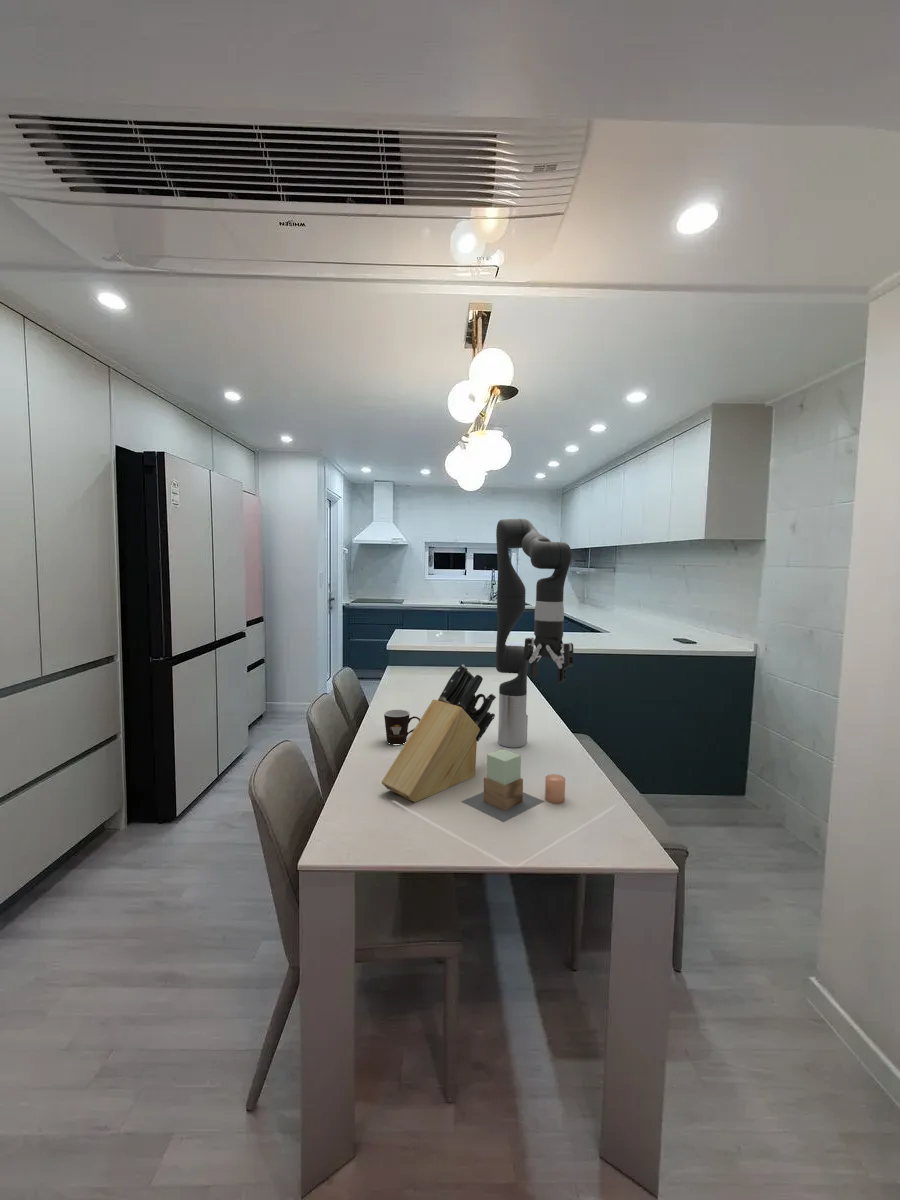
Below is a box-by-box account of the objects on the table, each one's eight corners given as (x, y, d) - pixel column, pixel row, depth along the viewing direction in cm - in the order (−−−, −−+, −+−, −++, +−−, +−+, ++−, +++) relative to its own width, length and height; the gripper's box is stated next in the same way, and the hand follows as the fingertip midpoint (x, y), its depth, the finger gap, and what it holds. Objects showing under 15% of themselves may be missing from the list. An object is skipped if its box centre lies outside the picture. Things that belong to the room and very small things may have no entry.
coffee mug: (379, 744, 172) (379, 714, 172) (391, 736, 180) (391, 708, 180) (410, 749, 168) (410, 719, 167) (421, 741, 176) (422, 712, 175)
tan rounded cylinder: (552, 794, 136) (553, 772, 136) (568, 801, 133) (569, 778, 132) (540, 800, 133) (541, 777, 133) (557, 807, 129) (557, 784, 129)
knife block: (497, 768, 153) (499, 665, 151) (409, 808, 128) (410, 684, 126) (468, 758, 161) (470, 660, 159) (380, 793, 136) (380, 677, 133)
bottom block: (501, 792, 136) (502, 770, 136) (522, 801, 131) (523, 778, 130) (483, 800, 131) (483, 777, 131) (504, 810, 126) (505, 786, 126)
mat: (502, 785, 142) (502, 783, 142) (544, 803, 132) (544, 801, 131) (461, 803, 131) (461, 801, 131) (503, 824, 121) (503, 822, 120)
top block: (502, 771, 135) (502, 749, 134) (520, 778, 131) (520, 755, 130) (486, 777, 131) (487, 754, 130) (504, 785, 126) (505, 761, 126)
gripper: (580, 620, 133) (578, 682, 134) (536, 615, 143) (534, 673, 144) (563, 621, 128) (561, 686, 129) (518, 617, 138) (517, 677, 139)
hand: (547, 679), depth 136 cm, fingers open, 8 cm apart
